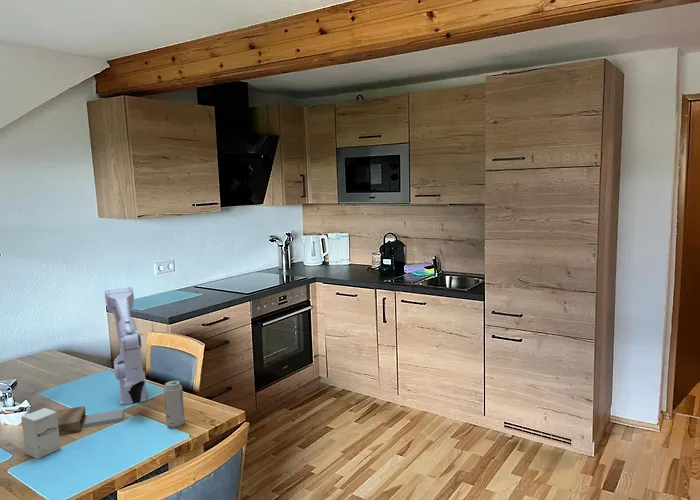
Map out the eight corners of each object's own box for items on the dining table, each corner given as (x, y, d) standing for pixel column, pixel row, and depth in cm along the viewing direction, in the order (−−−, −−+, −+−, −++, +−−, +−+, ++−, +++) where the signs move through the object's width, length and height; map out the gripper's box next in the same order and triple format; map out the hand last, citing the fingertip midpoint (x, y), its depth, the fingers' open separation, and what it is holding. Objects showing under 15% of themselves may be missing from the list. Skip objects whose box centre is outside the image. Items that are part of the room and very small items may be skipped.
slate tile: (123, 413, 190) (123, 409, 189) (122, 422, 183) (121, 417, 182) (87, 420, 186) (87, 415, 185) (84, 428, 179) (84, 423, 178)
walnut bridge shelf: (85, 415, 188) (84, 405, 188) (80, 431, 175) (78, 421, 175) (61, 419, 185) (60, 409, 185) (53, 436, 173) (52, 426, 172)
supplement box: (37, 459, 158) (32, 421, 156) (25, 454, 162) (20, 416, 160) (61, 449, 164) (57, 411, 162) (49, 443, 168) (44, 406, 166)
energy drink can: (166, 422, 179) (162, 381, 178) (184, 419, 182) (180, 378, 180) (167, 430, 174) (163, 387, 172) (185, 426, 176) (182, 384, 174)
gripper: (130, 360, 192) (133, 395, 194) (113, 374, 178) (117, 411, 180) (149, 359, 193) (152, 394, 194) (133, 373, 178) (137, 410, 180)
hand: (136, 402), depth 187 cm, fingers closed
